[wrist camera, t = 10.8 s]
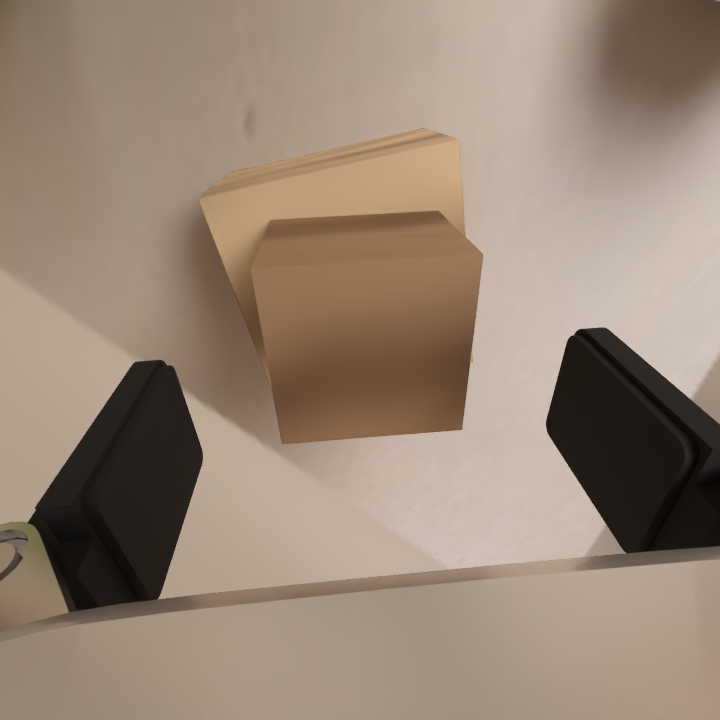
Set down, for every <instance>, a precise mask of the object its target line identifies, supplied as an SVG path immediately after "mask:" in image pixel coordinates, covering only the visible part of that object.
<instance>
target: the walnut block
mask: <svg viewBox="0 0 720 720" xmlns="http://www.w3.org/2000/svg"><path fill="white" fill-rule="evenodd" d="M482 261H483V254H482V253H481V252H480V251H479V250H478V249H477V248H476V247H475V246H474V245H473V244H472V243H471V242H470V241H469V240H468V239H467V238H466V237H465V236H464V235H463V234H462V233H461V232H460V231H459V230H458V229H457V228H456V227H455V226H454V225H453V224H452V223H451V222H450V221H449V220H448V219H447V218H446V217H445V216H444V215H443V214H441V213H440V212H439V211H420V212H402V213H384V214H366V215H348V216H330V217H312V218H294V219H276V220H270V223H269V225H268V227H267V230H266V232H265V235H264V237H263V240H262V242H261V244H260V247H259V249H258V252H257V254H256V256H255V259H254V261H253V264H252V266H251V268H250V269H251V275H252V280H253V286H254V291H255V297H256V302H257V308H258V314H259V319H260V325H261V330H262V336H263V341H264V347H265V352H266V358H267V363H268V369H269V374H270V380H271V385H272V391H273V397H274V402H275V408H276V413H277V419H278V424H279V430H280V435H281V441H282V444H289V443H301V442H314V441H327V440H339V439H352V438H365V437H377V436H390V435H402V434H415V433H428V432H440V431H453V430H462V425H463V417H464V409H465V400H466V392H467V384H468V376H469V368H470V359H471V351H472V343H473V335H474V327H475V318H476V310H477V302H478V294H479V285H480V277H481V269H482Z"/></svg>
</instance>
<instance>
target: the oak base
mask: <svg viewBox="0 0 720 720" xmlns="http://www.w3.org/2000/svg"><path fill="white" fill-rule="evenodd" d="M198 200H199V202H200V205H201V208H202V210H203V213H204V215H205V218H206V221H207V223H208V226H209V228H210V231H211V233H212V236H213V239H214V241H215V244H216V246H217V249H218V252H219V254H220V257H221V259H222V262H223V265H224V267H225V270H226V272H227V275H228V277H229V280H230V283H231V285H232V288H233V290H234V293H235V296H236V298H237V301H238V303H239V306H240V308H241V311H242V314H243V316H244V319H245V321H246V324H247V327H248V329H249V332H250V334H251V337H252V340H253V342H254V345H255V347H256V350H257V352H258V355H259V358H260V360H261V363H262V365H263V368H264V371H265V373H266V376H267V378H268V381H269V384H270V386H271V389H272V385H271V380H270V374H269V369H268V363H267V358H266V352H265V347H264V341H263V336H262V330H261V325H260V319H259V314H258V308H257V302H256V297H255V291H254V286H253V280H252V275H251V269H250V268H251V266H252V264H253V261H254V259H255V256H256V254H257V252H258V249H259V247H260V244H261V242H262V240H263V237H264V235H265V232H266V230H267V227H268V225H269V223H270V220H276V219H294V218H312V217H330V216H348V215H366V214H384V213H402V212H420V211H439V212H440V213H441V214H443V215H444V216H445V217H446V218H447V219H448V220H449V221H450V222H451V223H452V224H453V225H454V226H455V227H456V228H457V229H458V230H459V231H460V232H461V233H462V234H463V235H464V236H465V225H464V209H463V193H462V177H461V161H460V145H459V139H456V138H453V137H450V136H447V135H444V134H440V133H437V132H434V131H431V130H428V129H425V128H422V129H418V130H413V131H409V132H405V133H400V134H396V135H392V136H387V137H383V138H379V139H374V140H370V141H365V142H361V143H357V144H352V145H348V146H344V147H339V148H335V149H330V150H326V151H322V152H317V153H313V154H309V155H304V156H300V157H296V158H291V159H287V160H282V161H278V162H274V163H269V164H265V165H261V166H256V167H252V168H248V169H243V170H239V171H234V172H230V173H228V174H227V175H226V176H225V177H224V178H222V179H221V180H220V181H219V182H218V183H216V184H215V185H214V186H213V187H212V188H210V189H209V190H208V191H207V192H206V193H204V194H203V195H202V196H201V197H200V198H198ZM471 362H473V355H472V351H471V359H470V363H471Z"/></svg>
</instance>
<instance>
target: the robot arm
mask: <svg viewBox="0 0 720 720" xmlns="http://www.w3.org/2000/svg"><path fill="white" fill-rule="evenodd" d="M546 428H547V432H548V434H549V436H550V438H551V439H552V441H553V442H554V444H555V446H556V447H557V449H558V450H559V452H560V453H561V455H562V456H563V458H564V459H565V461H566V463H567V464H568V466H569V467H570V469H571V470H572V472H573V473H574V475H575V476H576V478H577V480H578V481H579V483H580V484H581V486H582V487H583V489H584V490H585V492H586V494H587V495H588V497H589V498H590V500H591V501H592V503H593V504H594V506H595V507H596V509H597V511H598V512H599V514H600V515H601V517H602V518H603V520H604V521H605V523H606V524H607V526H608V527H609V529H610V531H611V532H612V534H613V535H614V537H615V538H616V540H617V541H618V543H619V545H620V546H621V548H622V549H623V550H624V551H625V552H626V554H615V555H604V556H593V557H582V558H570V559H559V560H548V561H537V562H526V563H515V564H504V565H494V566H483V567H473V568H462V569H451V570H441V571H430V572H420V573H410V574H399V575H389V576H379V577H368V578H358V579H348V580H338V581H328V582H319V583H308V584H298V585H288V586H278V587H269V588H258V589H250V590H238V591H229V592H219V593H209V594H201V595H192V596H184V597H175V598H167V599H159V600H157V599H158V598H159V596H160V594H161V591H162V588H163V585H164V582H165V579H166V575H167V572H168V569H169V566H170V562H171V560H172V557H173V553H174V550H175V547H176V544H177V541H178V538H179V535H180V531H181V528H182V525H183V522H184V519H185V516H186V513H187V509H188V506H189V503H190V500H191V497H192V494H193V490H194V488H195V484H196V481H197V478H198V475H199V472H200V469H201V466H202V461H203V453H202V448H201V445H200V442H199V439H198V436H197V433H196V430H195V427H194V424H193V421H192V418H191V416H190V413H189V410H188V407H187V404H186V401H185V398H184V395H183V392H182V389H181V386H180V383H179V380H178V377H177V374H176V371H175V369H174V368H173V366H171V365H170V366H167V365H166V363H165V362H164V361H162V360H154V361H140V362H135V363H134V364H133V365H132V366H131V368H130V369H129V371H128V372H127V373H126V375H125V376H124V378H123V379H122V381H121V382H120V384H119V385H118V387H117V388H116V390H115V391H114V392H113V394H112V395H111V397H110V398H109V400H108V401H107V403H106V404H105V406H104V407H103V409H102V410H101V411H100V413H99V414H98V416H97V418H96V419H95V420H94V422H93V423H92V425H91V426H90V428H89V429H88V431H87V432H86V434H85V435H84V436H83V438H82V439H81V441H80V443H79V444H78V445H77V447H76V448H75V450H74V451H73V453H72V454H71V456H70V457H69V459H68V460H67V462H66V463H65V465H64V466H63V467H62V469H61V470H60V472H59V473H58V475H57V476H56V478H55V479H54V481H53V482H52V483H51V485H50V486H49V488H48V489H47V491H46V492H45V494H44V495H43V497H42V498H41V500H40V501H39V503H38V504H37V506H36V507H35V509H36V511H35V513H34V514H33V515H32V517H31V519H30V520H29V522H28V523H25V522H9V523H5V524H1V525H0V720H720V424H718V423H717V422H716V421H715V420H714V419H713V418H711V417H710V416H709V415H708V414H707V413H706V412H704V411H703V410H702V409H701V408H700V407H699V406H697V405H696V404H695V403H694V402H693V401H692V400H690V399H689V398H688V397H687V396H686V395H685V394H683V393H682V392H681V391H680V390H679V389H678V388H676V387H675V386H674V385H673V384H672V383H670V382H669V381H668V380H667V379H666V378H665V377H663V376H662V375H661V374H660V373H659V372H658V371H656V370H655V369H654V368H653V367H652V366H651V365H649V364H648V363H647V362H646V361H645V360H644V359H642V358H641V357H640V356H639V355H638V354H637V353H635V352H634V351H633V350H632V349H631V348H630V347H628V346H627V345H626V344H625V343H624V342H623V341H621V340H620V339H619V338H618V337H617V336H615V335H614V334H613V333H612V332H611V331H610V330H608V329H607V328H589V329H579V330H578V331H577V332H576V333H575V334H574V336H571V337H570V338H569V339H568V341H567V344H566V348H565V352H564V356H563V360H562V363H561V367H560V371H559V375H558V378H557V382H556V386H555V390H554V394H553V397H552V401H551V405H550V409H549V413H548V416H547V420H546Z"/></svg>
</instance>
